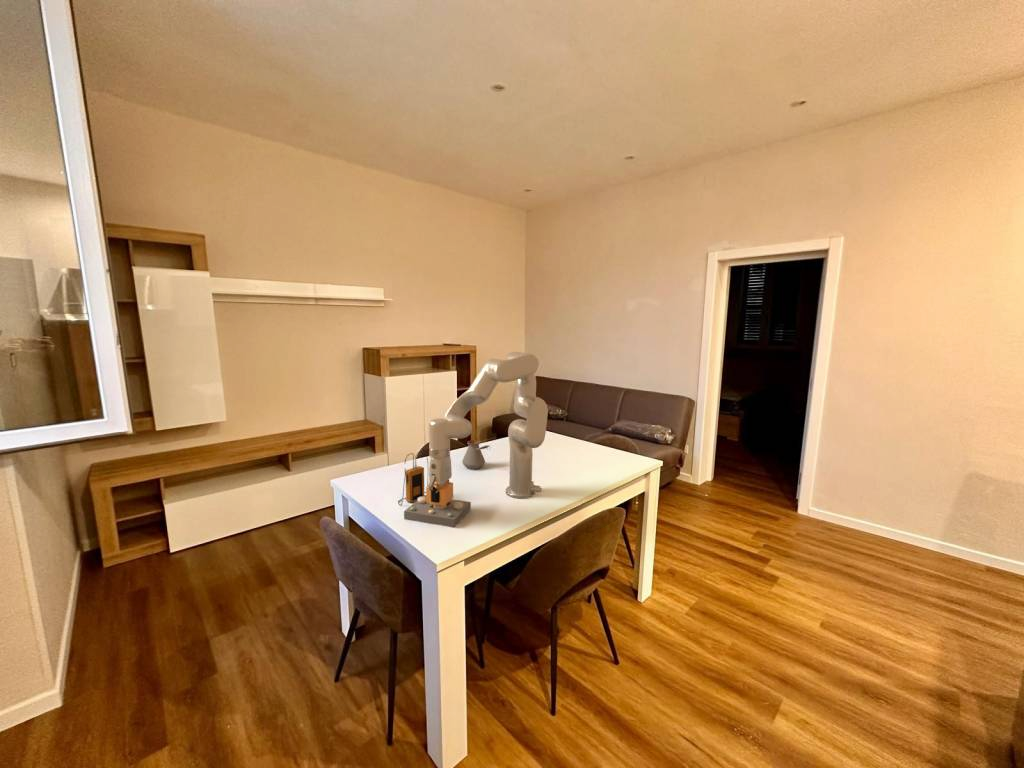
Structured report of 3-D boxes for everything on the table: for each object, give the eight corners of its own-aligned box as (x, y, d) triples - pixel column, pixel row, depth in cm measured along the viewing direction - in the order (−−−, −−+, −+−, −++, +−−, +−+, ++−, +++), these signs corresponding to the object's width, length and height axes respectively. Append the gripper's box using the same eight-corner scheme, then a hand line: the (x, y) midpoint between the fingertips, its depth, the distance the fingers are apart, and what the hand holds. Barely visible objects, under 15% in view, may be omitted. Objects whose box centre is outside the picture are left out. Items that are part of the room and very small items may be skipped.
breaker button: (448, 509, 155) (448, 502, 154) (443, 515, 150) (443, 507, 150) (437, 507, 156) (437, 500, 156) (431, 513, 152) (431, 505, 151)
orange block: (453, 497, 155) (453, 482, 154) (444, 505, 148) (444, 490, 147) (435, 495, 157) (435, 480, 156) (426, 502, 150) (426, 487, 149)
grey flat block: (470, 509, 156) (470, 498, 156) (454, 527, 142) (454, 515, 141) (424, 502, 162) (424, 491, 161) (404, 519, 147) (403, 507, 147)
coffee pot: (458, 465, 205) (458, 436, 203) (478, 461, 211) (478, 433, 209) (478, 479, 187) (478, 447, 185) (499, 474, 193) (499, 444, 191)
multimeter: (416, 488, 175) (415, 444, 172) (431, 495, 169) (431, 448, 166) (387, 499, 164) (385, 451, 161) (402, 506, 158) (400, 457, 155)
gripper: (438, 460, 141) (438, 508, 143) (458, 446, 157) (458, 490, 160) (418, 458, 143) (419, 506, 145) (441, 444, 159) (441, 487, 162)
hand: (440, 497), depth 152 cm, fingers closed on orange block, 7 cm apart
